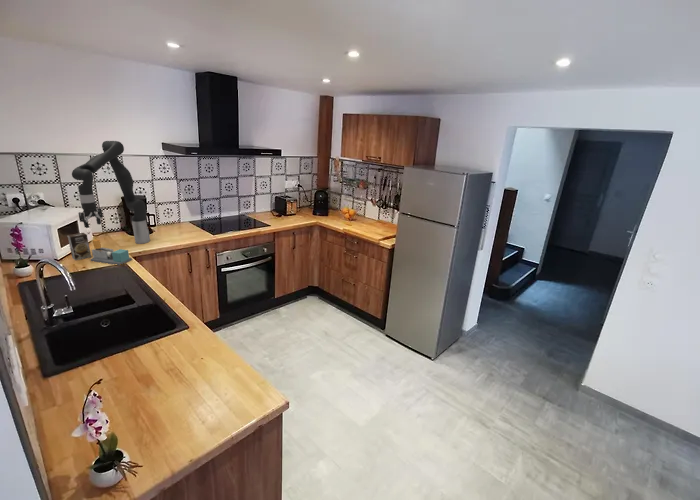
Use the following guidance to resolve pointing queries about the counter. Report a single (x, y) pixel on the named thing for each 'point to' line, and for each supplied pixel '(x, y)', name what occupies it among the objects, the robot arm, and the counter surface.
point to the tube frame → (118, 257)
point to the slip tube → (98, 246)
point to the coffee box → (79, 246)
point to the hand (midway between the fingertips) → (93, 225)
